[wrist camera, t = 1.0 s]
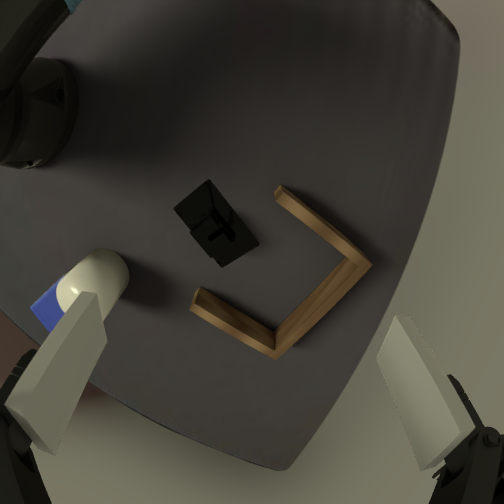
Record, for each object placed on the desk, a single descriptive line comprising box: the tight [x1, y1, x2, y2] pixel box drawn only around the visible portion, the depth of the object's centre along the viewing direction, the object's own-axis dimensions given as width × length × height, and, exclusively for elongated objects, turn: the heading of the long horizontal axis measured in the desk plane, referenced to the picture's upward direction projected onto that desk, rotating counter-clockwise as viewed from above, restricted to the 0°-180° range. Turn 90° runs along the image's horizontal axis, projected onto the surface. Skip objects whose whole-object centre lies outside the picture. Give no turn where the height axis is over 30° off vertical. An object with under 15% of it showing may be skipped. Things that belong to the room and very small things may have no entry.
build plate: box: [174, 179, 259, 268], centre depth 33 cm, size 12×7×5 cm, turn 36°
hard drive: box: [30, 273, 67, 333], centre depth 40 cm, size 2×8×12 cm
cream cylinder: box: [56, 248, 129, 321], centre depth 34 cm, size 7×7×8 cm
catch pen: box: [189, 185, 372, 360], centre depth 35 cm, size 13×17×4 cm
